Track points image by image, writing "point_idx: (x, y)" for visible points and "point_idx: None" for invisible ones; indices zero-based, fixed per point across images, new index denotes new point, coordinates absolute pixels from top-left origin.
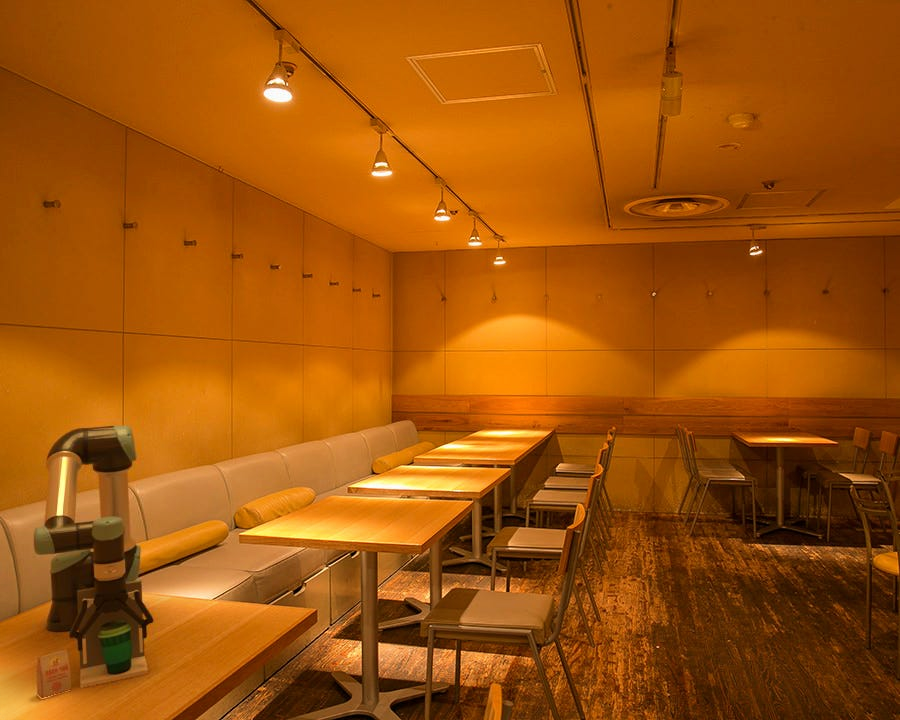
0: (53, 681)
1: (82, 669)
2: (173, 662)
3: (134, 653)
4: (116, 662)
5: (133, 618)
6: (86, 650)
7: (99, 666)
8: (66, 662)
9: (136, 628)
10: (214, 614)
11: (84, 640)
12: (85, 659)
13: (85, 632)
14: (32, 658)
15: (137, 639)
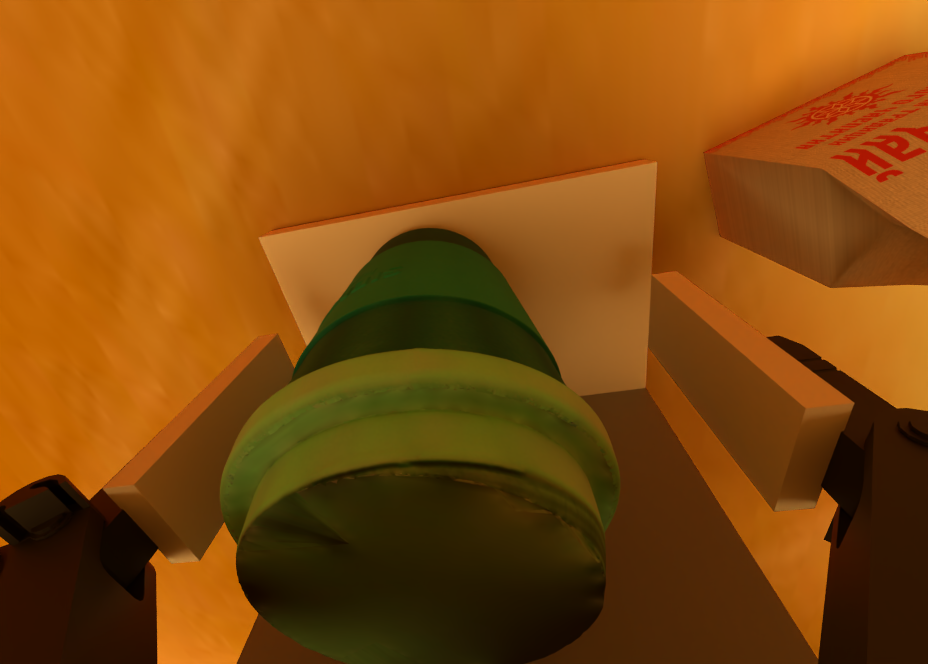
0: (911, 92)
1: (635, 379)
2: (185, 335)
3: None
4: (425, 243)
5: (54, 656)
6: (648, 465)
7: None
8: (896, 185)
9: None
10: (219, 657)
11: (803, 391)
12: (674, 286)
13: (888, 491)
14: (800, 571)
15: None
